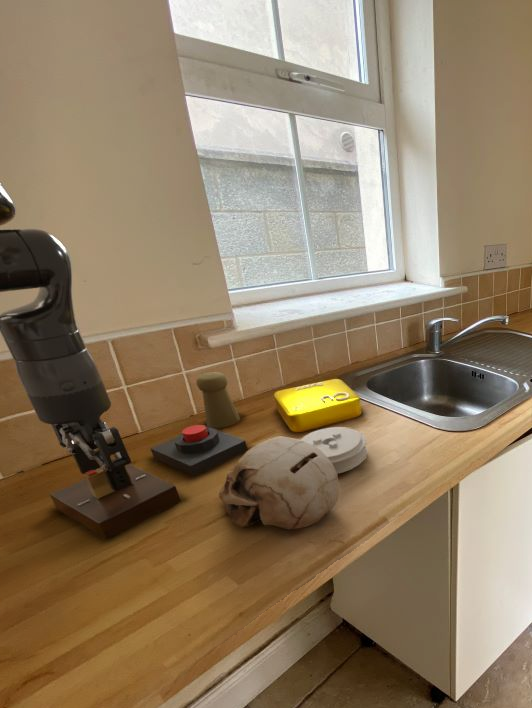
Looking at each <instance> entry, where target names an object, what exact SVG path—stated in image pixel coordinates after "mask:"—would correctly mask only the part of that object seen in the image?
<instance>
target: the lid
mask: <svg viewBox="0 0 532 708" xmlns="http://www.w3.org/2000/svg"><path fill="white" fill-rule="evenodd" d="M300 440H301V441H303V442H306V443H308V444H310V445H313V446H315V447H317V448H318V449H320V450H321V451H322V452H323V453H324V454H325V455H326V456H327V458H328V459H329V460H330V461H331V462H332V464H333V466H334V468H335V470H336V472H337V475H339V474H342V473H346V472H348V471H350V470H353V469H354V468H357V466H359V465H361V464H362V463H363V462H364V461H365V460H366V458H367V456H368V448H367V446H366V444H367V439H366V436H365V435H364V434H363V433H362V432H360V431H359V430H356V429H353V428H350V427H344V426H334V427H333V426H332V427H326V428H321V429H317V430H314V431H312V432H309V433H308V434H306V435H304V436H302V438H300Z"/></svg>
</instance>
